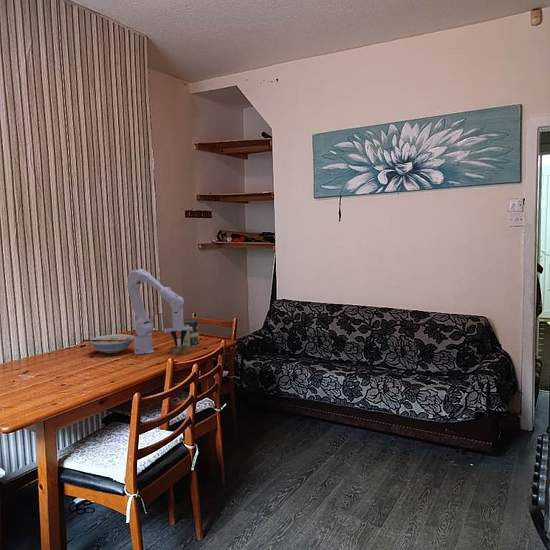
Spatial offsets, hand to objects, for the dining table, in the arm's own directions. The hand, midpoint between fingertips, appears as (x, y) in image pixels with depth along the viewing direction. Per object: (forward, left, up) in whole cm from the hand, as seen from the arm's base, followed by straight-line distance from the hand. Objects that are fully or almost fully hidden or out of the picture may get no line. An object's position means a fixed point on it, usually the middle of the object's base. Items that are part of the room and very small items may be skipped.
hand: (178, 345), depth 257 cm
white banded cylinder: (0, 0, -2) cm, 2 cm away
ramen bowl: (-34, +14, -4) cm, 37 cm away
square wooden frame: (0, 0, -4) cm, 4 cm away
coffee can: (+7, +15, -4) cm, 17 cm away
